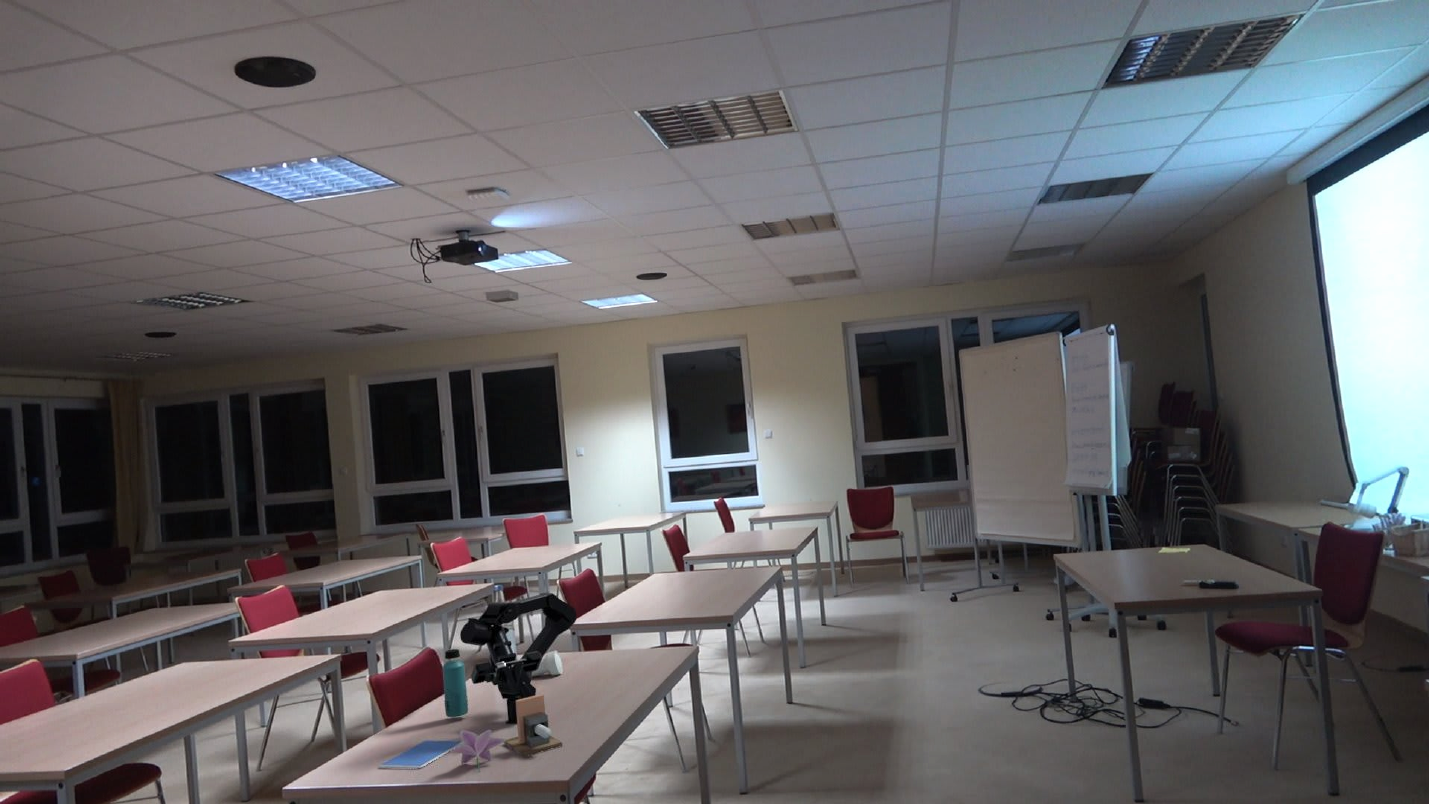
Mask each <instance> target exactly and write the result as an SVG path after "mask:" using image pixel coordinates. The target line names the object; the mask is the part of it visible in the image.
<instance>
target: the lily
mask: <svg viewBox="0 0 1429 804" xmlns="http://www.w3.org/2000/svg"><path fill="white" fill-rule="evenodd" d="M459 734H460V741H462V743H463V744H462V745H461V746H459V747H457V748H455V749H453V750H451V751H450V752H449V753H452V754H462V755H461V760H460V761H461V765H464V764H463V763H466V764H467V763H468V762H470V761H472V760H473V759H474V758H476V762H477V768H478V772H479V771H480V772H481V769H480V762H479V758H481V759H483V760H487V761H492V755H491V751H490V750H491V749H493V748H494V747H497V746H500V745H501V744H504V742H505V741H506V740H507V739H506V738H501V737H491V734H492V731H491V729H487V730H485V731H484V732H482V733H481V734H479V735H477V734H476V733H474V732H473V731H469V730H463V729H462V730H460V731H459Z"/></svg>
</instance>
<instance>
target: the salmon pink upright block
mask: <svg viewBox="0 0 1429 804" xmlns="http://www.w3.org/2000/svg"><path fill="white" fill-rule="evenodd" d="M545 707H546V706H545V695H544V694H542V693H540V694H535V696H532V697H528V698H523V699H519V700H516V713H517V723H516V724H517V725H516V726H517V737H518V739H519V743H521V744H522V743H525V738H524V724H523V716H527V715H531V714H535V713H539V712H543V713H545V714H546V710H545V709H546V708H545ZM533 729H534V733H536V734H538V735H540V736H541V737H543V738H548V737H549V736H551V735H552V730H551V729H550V728H547V727H545V726H543V725H541V724H539V723H538V724H535V725H533Z"/></svg>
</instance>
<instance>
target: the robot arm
mask: <svg viewBox="0 0 1429 804" xmlns="http://www.w3.org/2000/svg"><path fill="white" fill-rule="evenodd" d="M538 610H542V614H543V616H544V618H545V619H544V627H543V628H542V629H541V631H540V632H539V633H538V635H537V636H536V637H535V639H534V640H533V641H532V643H531V644H530V646H529V647H528V648H527V649H526V651H525V652H524V653H523V654H522V656H521V658H520V659H516V658H517V653H516V652H513V648H512V645H513V643H512V641H511V640H509V638H508V636H507V633H508V632H510V629H509V628H508V627H505V626H503V625H504V624H510V623H512V622H513V621H514V620H517V619H518V617H519V616H521V615H524V614H528V613H531V612H536V611H538ZM576 621H577V612H576V610H575V608H574V607H573V606H571V605H570V604H568V603H567V602H565V601H563V600H562V599H560V598H559V597H558V596H557V595H556V594H555V593H553V592H552V593H551V592H542V593H539V594H536V595H533V596H529V597H526V598H522V599H517V600H515V601H494V602H490V603H489V604H488V605H487V607H486V610H485V611H484V612H483V613H482V614H481V616H480V617H479V618H476V617H475V618H474V617H468V620H467V622H466V623H465V624H464V625H463V626H462V629H461V630H460V632H459V633H460V638H459V639H460V640H461V643H464V644H467V645H474V646H478V647H483V646H485V645H486V646H487V649H488V652H489V657H488V658H489V660H487V661H482V662H476V663H475V664H474V666H473V668H472V671H471V674H470V679H471V682H472V684H474V685H477V684H481V683H486V684H487V683H492V685H493V686H497V689H498V691H499V693H500V695H501V698H502V700H506V709H507V710H506V711H507V720H505V724H517V713H516V700H519V699H523V698H528V697H532V696H536V695H537V688H536V687H535V686H534V685H533V684H531V683H532V678H533V677H532V671H536V670H537V669H538V668H539V665H540V663H541V661H542V659H543V657H544V656H545V655H546V653H548V650H549V649H550V648H551V646H552V645H553V643H554V642H555V641H556V639H558V637H559V636H560V635H561V634H563V633H565V632H567V631H569V629H570V628H571V627H572V626H573V625H574V624H575V623H576Z"/></svg>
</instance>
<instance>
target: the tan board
mask: <svg viewBox="0 0 1429 804" xmlns="http://www.w3.org/2000/svg"><path fill="white" fill-rule="evenodd" d="M505 740H506V741H505V742H503V744H504V745H505V746H506V747H508V746H509V747H508V748H510V749H511V748H512V750H513V751H515V752H516V751H517V752H516V753H518V752H519V753H518V754H520V755H521V754H522V755H521V756H523V757H524V756H525V758H526V757H529V756H528V755H530V756H532V755H531V754H533V755H536V753H537V754H540V753H542V752H541V751H544V752H547V751H549V750H548V749H551V748H554V749H557V748H556V747H558V748H560V747H559V746H561V747H563V741H561V740H558V739H557V738H555V737H553V736H551V735H550V736H549V740H550V743H548V744H544V745H541V746H537V747H534V748H530V747H528V746H526V745H525V743H522V744H521V743H519V739H518V736H515V737H512V738H507V739H505ZM546 750H547V751H546ZM551 750H552V749H551ZM539 752H540V753H539Z"/></svg>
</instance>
